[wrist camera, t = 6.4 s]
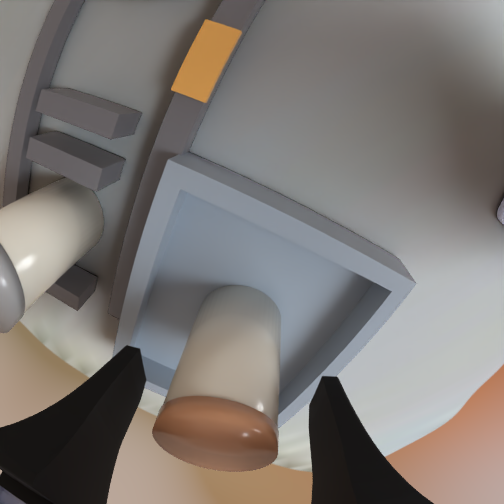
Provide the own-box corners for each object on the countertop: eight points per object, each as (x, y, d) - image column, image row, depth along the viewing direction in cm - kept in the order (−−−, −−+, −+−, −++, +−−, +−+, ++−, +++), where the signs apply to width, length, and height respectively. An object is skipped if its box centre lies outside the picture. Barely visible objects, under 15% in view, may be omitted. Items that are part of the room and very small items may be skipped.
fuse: (112, 195, 13) (7, 267, 6) (97, 263, 14) (18, 350, 8) (51, 165, 12) (-56, 215, 6) (42, 232, 14) (-42, 298, 8)
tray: (399, 259, 13) (416, 283, 11) (274, 406, 18) (273, 432, 16) (186, 150, 12) (168, 159, 10) (123, 346, 17) (109, 370, 15)
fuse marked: (289, 291, 13) (290, 429, 7) (275, 354, 15) (267, 476, 9) (198, 277, 13) (143, 403, 7) (198, 342, 15) (160, 458, 9)
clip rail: (349, -110, 4) (356, -129, 3) (135, 313, 16) (121, 336, 14) (177, -138, 3) (168, -154, 1) (12, 241, 14) (-8, 255, 13)
